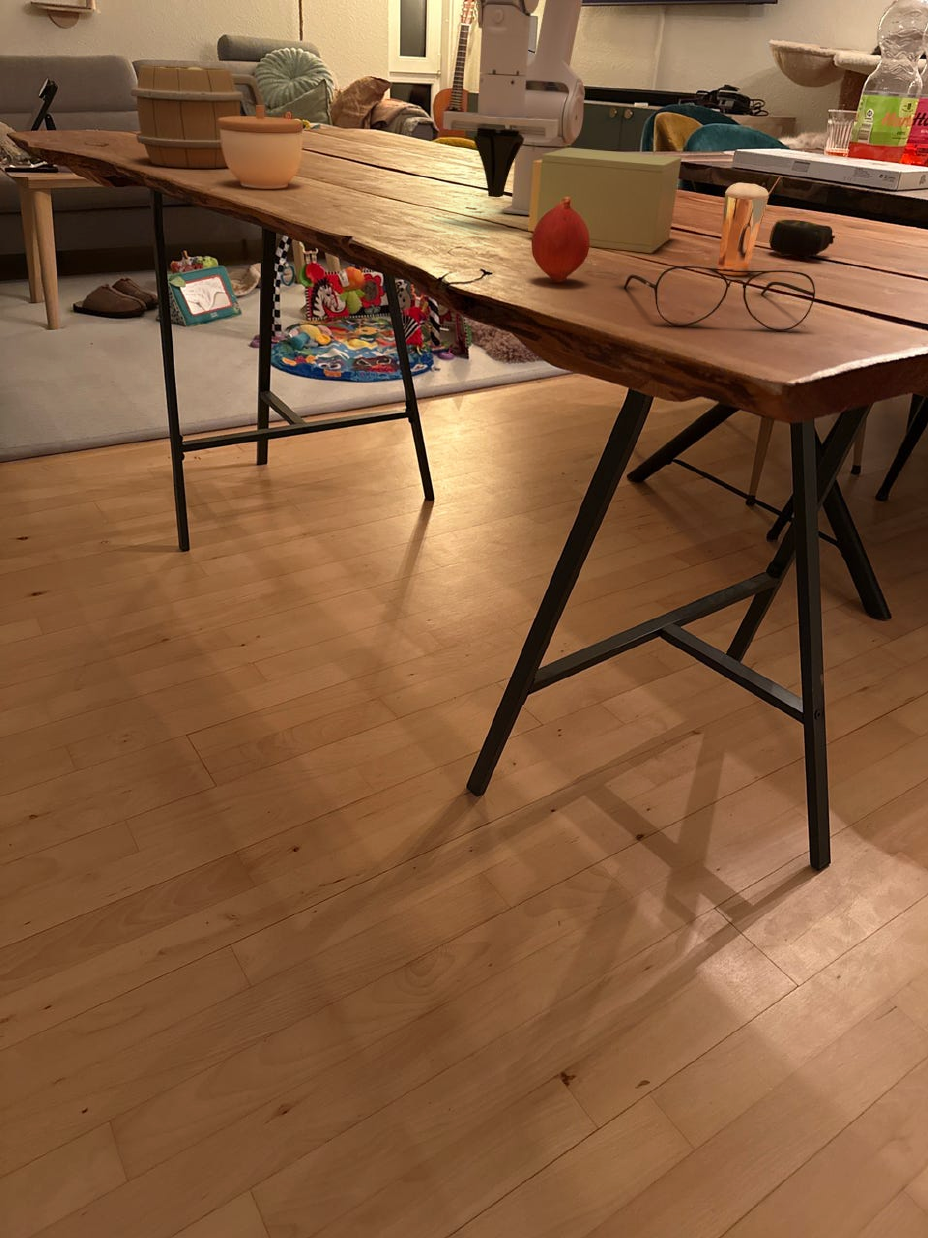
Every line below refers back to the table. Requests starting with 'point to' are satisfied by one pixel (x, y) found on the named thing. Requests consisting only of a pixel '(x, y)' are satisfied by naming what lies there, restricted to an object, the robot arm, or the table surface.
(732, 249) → the milkshake
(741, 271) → the glasses
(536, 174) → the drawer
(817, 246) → the tape measure
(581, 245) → the onion
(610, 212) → the cabinet
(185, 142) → the mug
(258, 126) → the lidded bowl
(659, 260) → the table surface
